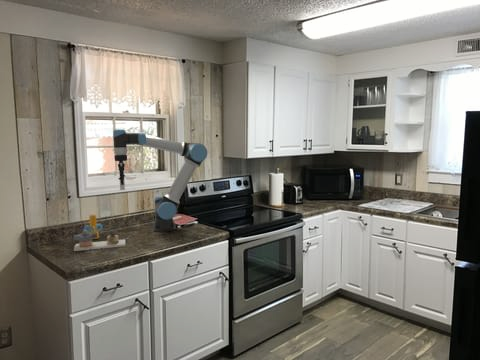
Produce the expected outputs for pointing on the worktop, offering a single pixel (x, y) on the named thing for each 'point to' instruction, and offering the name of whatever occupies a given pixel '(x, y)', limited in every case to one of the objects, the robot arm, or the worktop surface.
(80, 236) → the square frame with hole
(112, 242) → the stand
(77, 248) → the board
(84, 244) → the peg
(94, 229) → the tube with blue rings
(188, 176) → the robot arm
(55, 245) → the worktop surface
